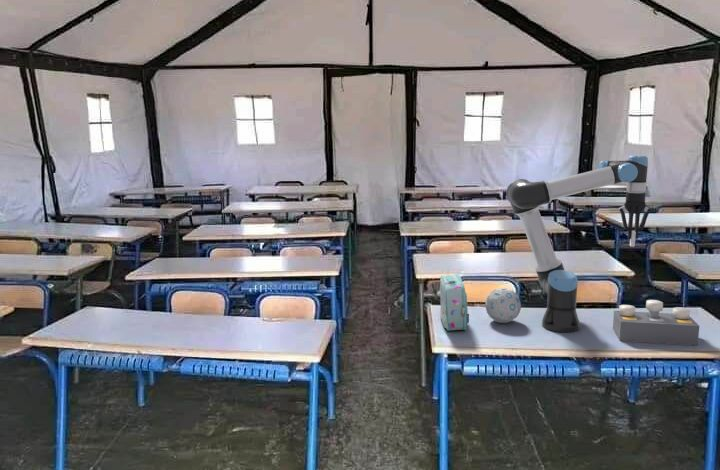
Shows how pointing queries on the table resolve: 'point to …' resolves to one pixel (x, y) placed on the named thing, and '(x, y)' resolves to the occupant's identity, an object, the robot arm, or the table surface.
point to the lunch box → (453, 303)
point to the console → (656, 329)
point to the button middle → (654, 308)
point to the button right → (681, 313)
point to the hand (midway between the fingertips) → (632, 245)
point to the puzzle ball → (503, 305)
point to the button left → (627, 310)
